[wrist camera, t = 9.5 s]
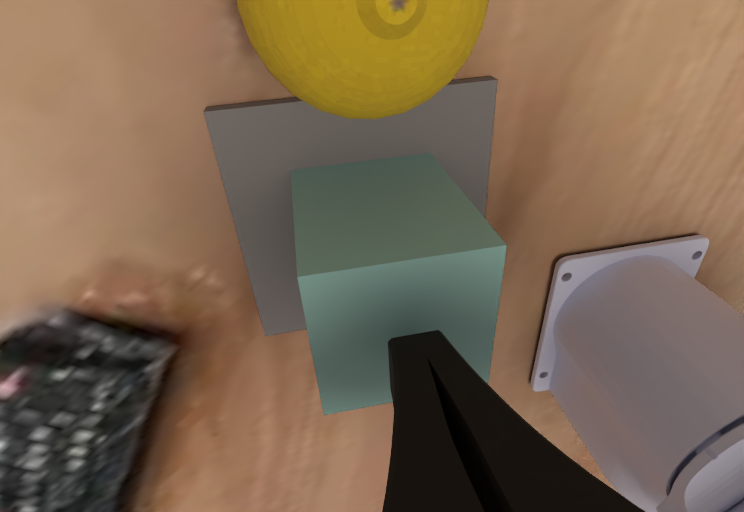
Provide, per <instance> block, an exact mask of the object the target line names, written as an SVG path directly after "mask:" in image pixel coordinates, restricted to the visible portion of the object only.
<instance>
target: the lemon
mask: <svg viewBox="0 0 744 512" xmlns="http://www.w3.org/2000/svg"><path fill="white" fill-rule="evenodd" d="M488 2H489V0H237V5H238V10H239V13H240V16H241V18H242V21H243V24H244V27H245V29H246V32H247V35H248V37H249V40H250V43H251V44H252V46H253V47H254V49H255V50H256V52H257V53H258V55H259V57H260V58H261V60H262V61H263V63H264V64H265V66H266V67H267V69H268V70H269V72H270V73H271V74H272V75H273V76H274V77H275V78H276V79H277V80H278V81H279V82H280V83H281V84H282V85H283V86H284V87H285V88H286V89H287V90H288V91H289V92H290V93H291V94H293V95H294V96H296V97H298V98H299V99H301V100H303V101H304V102H306V103H308V104H309V105H311V106H313V107H315V108H316V109H318V110H320V111H323V112H327V113H330V114H334V115H337V116H341V117H344V118H348V119H380V118H384V117H389V116H393V115H397V114H402V113H405V112H407V111H409V110H411V109H413V108H415V107H416V106H418V105H420V104H422V103H424V102H426V101H428V100H429V99H431V98H432V97H433V96H434V95H435V94H436V93H438V92H439V91H440V90H441V89H442V88H443V87H445V86H446V85H447V84H448V83H449V82H450V81H451V80H452V79H453V77H454V76H455V75H456V73H457V72H458V71H459V69H460V68H461V67H462V65H463V64H464V63H465V61H466V60H467V59H468V57H469V56H470V54H471V52H472V49H473V47H474V45H475V43H476V41H477V38H478V36H479V34H480V32H481V30H482V28H483V23H484V19H485V15H486V11H487V7H488Z"/></svg>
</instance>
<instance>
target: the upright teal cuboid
mask: <svg viewBox="0 0 744 512" xmlns="http://www.w3.org/2000/svg"><path fill="white" fill-rule="evenodd" d="M291 186H292V202H293V218H294V234H295V250H296V266H297V279H298V284H299V289H300V294H301V299H302V305H303V310H304V315H305V320H306V325H307V330H308V336H309V341H310V346H311V351H312V356H313V361H314V367H315V372H316V377H317V382H318V387H319V392H320V398H321V403H322V408H323V413H324V415H328V414H333V413H338V412H343V411H349V410H354V409H359V408H364V407H370V406H375V405H380V404H385V403H391V402H393V400H392V394H391V389H390V373H389V357H388V341H389V340H390V339H391V338H395V337H400V336H406V335H412V334H418V333H423V332H429V331H435V330H439V331H441V332H442V333H443V334H444V336H445V337H446V338H447V339H448V341H449V342H450V343H451V344H452V345H453V347H454V348H455V349H456V350H457V351H458V352H459V354H460V355H461V356H462V357H463V358H464V359H465V360H466V362H467V363H468V364H469V365H470V366H471V367H472V368H473V369H474V370H475V372H476V373H477V374H478V375H479V376H480V377H481V378H482V379H483V380H484V381H485V382H486V383H487V384H488V381H489V374H490V366H491V359H492V351H493V344H494V337H495V329H496V322H497V314H498V307H499V300H500V292H501V285H502V278H503V270H504V263H505V255H506V248H507V245H506V243H505V242H504V241H503V240H502V239H501V237H500V236H499V235H498V234H497V233H496V231H495V230H494V229H493V228H492V226H491V225H490V224H489V223H488V222H487V220H486V219H485V218H484V217H483V216H482V214H481V213H480V212H479V211H478V210H477V208H476V207H475V206H474V205H473V204H472V202H471V201H470V200H469V199H468V198H467V196H466V195H465V194H464V193H463V191H462V190H461V189H460V188H459V187H458V185H457V184H456V183H455V182H454V181H453V179H452V178H451V177H450V176H449V175H448V173H447V172H446V171H445V170H444V169H443V167H442V166H441V165H440V164H439V163H438V161H437V160H436V159H435V158H434V156H433V155H432V154H431V153H425V154H417V155H409V156H401V157H393V158H385V159H377V160H369V161H361V162H353V163H345V164H337V165H329V166H321V167H313V168H305V169H297V170H291Z"/></svg>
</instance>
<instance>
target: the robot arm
mask: <svg viewBox="0 0 744 512" xmlns="http://www.w3.org/2000/svg"><path fill="white" fill-rule="evenodd" d="M708 246H709V239H707V238H706V237H704V236H703V235H695V236H688V237H682V238H676V239H670V240H664V241H657V242H651V243H645V244H639V245H633V246H626V247H620V248H614V249H608V250H602V251H595V252H589V253H583V254H577V255H571V256H566V257H563V258H561V259H560V260H559V261H558V262H557V263H556V265H555V269H554V274H553V278H552V283H551V288H550V292H549V297H548V302H547V307H546V311H545V316H544V321H543V325H542V330H541V335H540V340H539V344H538V349H537V354H536V358H535V363H534V368H533V373H532V377H531V382H530V386H531V387H532V389H533V390H534V391H536V392H540V391H545V390H550V392H551V393H552V395H553V397H554V398H555V400H556V401H557V403H558V404H559V406H560V407H561V409H562V411H563V412H564V414H565V415H566V417H567V418H568V420H569V421H570V423H571V424H572V426H573V428H574V429H575V431H576V432H577V434H578V435H579V437H580V438H581V440H582V442H583V443H584V445H585V446H586V448H587V449H588V451H589V452H590V454H591V456H592V457H593V459H594V460H595V462H596V463H597V465H598V466H599V468H600V470H601V471H602V473H603V474H604V476H605V477H606V478H607V480H608V481H609V482H610V483H611V485H612V486H613V487H614V488H615V489H616V490H617V491H618V492H619V493H620V494H621V495H620V494H619V493H618V492H616V491H615V490H613V489H612V488H610V487H609V486H607V485H606V484H605V483H603V482H602V481H600V480H599V479H597V478H596V477H595V476H593V475H592V474H590V473H589V472H588V471H586V470H585V469H584V468H582V467H581V466H580V465H578V464H577V463H576V462H575V461H573V460H572V459H571V458H569V457H568V456H567V455H565V454H564V453H563V452H562V451H560V450H559V449H558V448H557V447H556V446H554V445H553V444H552V443H551V442H549V441H548V440H547V439H546V438H545V437H543V436H542V435H541V434H540V433H539V432H538V431H536V430H535V429H534V428H533V427H532V426H531V425H530V424H528V423H527V422H526V421H525V420H524V419H523V418H522V417H521V416H520V415H519V414H518V413H516V412H515V411H514V410H513V409H512V408H511V407H510V406H509V405H508V404H507V403H506V402H505V401H504V400H503V399H502V398H501V397H500V396H499V395H498V394H497V393H496V392H495V391H494V390H493V389H492V388H491V387H490V386H489V385H488V384H487V383H486V382H485V381H484V380H483V379H482V378H481V377H480V376H479V375H478V374H477V373H476V372H475V370H474V369H473V368H472V367H471V366H470V365H469V364H468V363H467V362H466V360H465V359H464V358H463V357H462V356H461V355H460V354H459V352H458V351H457V350H456V349H455V348H454V347H453V345H452V344H451V343H450V342H449V341H448V339H447V338H446V337H445V336H444V334H443V333H442V332H441V331H439V330H435V331H429V332H423V333H418V334H412V335H406V336H400V337H395V338H391V339H390V340H389V341H388V357H389V373H390V389H391V394H392V400H393V406H394V423H393V436H392V448H391V457H390V465H389V473H388V480H387V487H386V494H385V499H384V505H383V511H382V512H744V315H743V314H742V313H740V312H739V311H738V310H736V309H735V308H734V307H732V306H731V305H730V304H728V303H727V302H725V301H724V300H723V299H721V298H720V297H719V296H717V295H716V294H715V293H713V292H712V291H711V290H709V289H708V288H707V287H705V286H704V285H703V284H701V283H700V282H699V281H697V280H696V279H695V276H696V274H697V271H698V269H699V267H700V264H701V262H702V260H703V258H704V255H705V253H706V251H707V249H708ZM564 274H566V275H564ZM563 275H564V276H563ZM622 495H623V496H624V497H623V496H622Z"/></svg>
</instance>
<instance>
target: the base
mask: <svg viewBox="0 0 744 512" xmlns="http://www.w3.org/2000/svg"><path fill="white" fill-rule="evenodd" d="M497 81H498V79H496V78H494V77H492V76H487V77H478V78H468V79H459V80H451V81H450V82H449V83H448V84H447V85H446V86H445V87H443V88H442V89H441V90H440V91H439V92H438V93H436V94H435V95H434V96H433V97H432V98H431V99H429V100H428V101H426V102H424V103H422V104H420V105H418V106H416V107H415V108H413V109H411V110H409V111H407V112H405V113H402V114H397V115H393V116H389V117H384V118H380V119H348V118H344V117H341V116H337V115H334V114H330V113H327V112H323V111H320V110H318V109H316V108H315V107H313V106H311V105H309V104H308V103H306V102H304V101H303V100H301V99H299V98H298V97H294V98H285V99H276V100H266V101H257V102H248V103H239V104H230V105H221V106H211V107H206V108H205V110H204V115H205V119H206V122H207V126H208V130H209V133H210V137H211V141H212V144H213V148H214V151H215V155H216V159H217V162H218V166H219V170H220V173H221V177H222V181H223V184H224V188H225V191H226V195H227V199H228V202H229V206H230V210H231V213H232V217H233V220H234V224H235V228H236V231H237V235H238V239H239V242H240V246H241V250H242V253H243V257H244V260H245V264H246V268H247V271H248V275H249V279H250V282H251V286H252V290H253V293H254V297H255V300H256V304H257V308H258V311H259V315H260V319H261V322H262V326H263V330H264V333H265V336H269V335H275V334H281V333H287V332H293V331H298V330H304V329H307V325H306V320H305V315H304V310H303V305H302V299H301V294H300V289H299V284H298V279H297V266H296V250H295V234H294V218H293V202H292V186H291V170H297V169H305V168H313V167H321V166H329V165H337V164H345V163H353V162H361V161H369V160H377V159H385V158H393V157H401V156H409V155H417V154H425V153H431V154H432V155H433V156H434V158H435V159H436V160H437V161H438V163H439V164H440V165H441V166H442V167H443V169H444V170H445V171H446V172H447V173H448V175H449V176H450V177H451V178H452V179H453V181H454V182H455V183H456V184H457V185H458V187H459V188H460V189H461V190H462V191H463V193H464V194H465V195H466V196H467V198H468V199H469V200H470V201H471V202H472V204H473V205H474V206H475V207H476V208H477V210H478V211H479V212H480V213H481V214H482V216H483V217H484V218H485V209H486V198H487V187H488V177H489V166H490V155H491V145H492V134H493V124H494V113H495V102H496V92H497Z"/></svg>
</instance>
